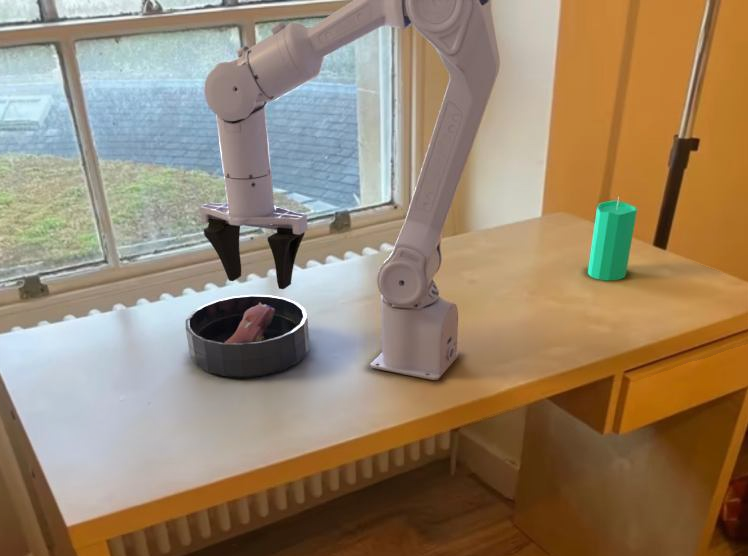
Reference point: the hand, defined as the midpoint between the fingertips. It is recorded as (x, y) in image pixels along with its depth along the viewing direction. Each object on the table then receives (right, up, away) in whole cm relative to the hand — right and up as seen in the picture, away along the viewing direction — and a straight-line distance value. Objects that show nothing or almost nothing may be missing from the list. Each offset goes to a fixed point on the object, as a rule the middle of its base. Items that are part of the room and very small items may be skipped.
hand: (259, 282), depth 105 cm
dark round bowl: (-2, -8, +5) cm, 10 cm away
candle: (+53, +8, +25) cm, 59 cm away
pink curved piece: (-2, -8, +4) cm, 9 cm away
